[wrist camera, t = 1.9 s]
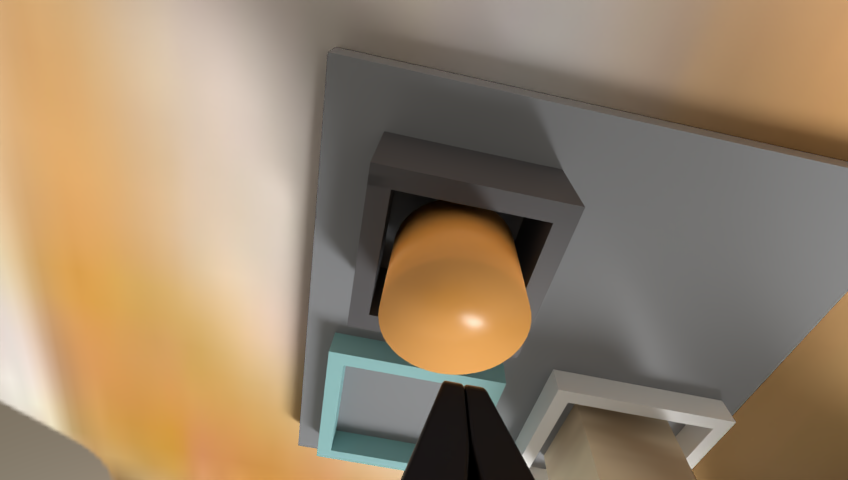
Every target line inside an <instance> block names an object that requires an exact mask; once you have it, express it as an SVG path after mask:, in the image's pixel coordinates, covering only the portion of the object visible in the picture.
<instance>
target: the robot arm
mask: <svg viewBox="0 0 848 480" xmlns="http://www.w3.org/2000/svg"><path fill="white" fill-rule="evenodd" d="M401 480H535V478H534V477H533V475H532V473H531V471H530V469H529V467H528V466H527V464H526V462H525V460H524V458H523V456H522V455H521V453H520V451H519V449H518V447H517V445H516V444H515V442H514V440H513V438H512V436H511V434H510V432H509V431H508V429H507V427H506V425H505V423H504V421H503V420H502V418H501V416H500V414H499V412H498V410H497V409H496V407H495V405H494V403H493V401H492V399H491V398H490V396H489V394H488V392H487V391H486V389H484V388H483V387H478V386H473V385H465V386H463V385H462V384H461V383H456V382H451V381H443V383H442V384H441V387H440V389H439V391H438V394H437V396H436V398H435V401H434V403H433V405H432V408H431V410H430V412H429V415H428V417H427V419H426V422H425V424H424V426H423V429H422V431H421V434H420V436H419V438H418V441H417V443H416V445H415V448H414V450H413V452H412V455H411V457H410V459H409V462H408V464H407V466H406V469H405V471H404V473H403V476H402V478H401Z"/></svg>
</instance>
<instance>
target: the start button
mask: <svg viewBox="0 0 848 480" xmlns="http://www.w3.org/2000/svg"><path fill="white" fill-rule="evenodd" d="M378 318H379V326H380V330H381V332H382V335H383V337H384V339H385V340H386V342H387V344H388V345H389V346H390V347H391V349H392V350H393V351H394V352H395V353H396V354H397V355H398V356H400V357H401V358H403V359H404V360H405V361H407V362H409V363H410V364H412V365H414V366H417V367H419V368H421V369H424V370H427V371H431V372H435V373H440V374H450V375H462V374H471V373H477V372H481V371H484V370H487V369H490V368H493V367H495V366H497V365H499V364H501V363H502V362H504V361H506V360H507V359H509V358H510V357H511V356H512V355H514V354H515V353H516V352H517V351H518V350H519V348H520V347H521V346H522V344H523V343H524V341H525V340H526V338H527V336H528V333H529V330H530V326H531V309H530V304H529V300H528V296H527V292H526V288H525V284H524V279H523V275H522V271H521V267H520V263H519V259H518V255H517V251H516V247H515V243H514V239H513V236H512V233H511V231H510V229H509V227H508V225H507V224H506V222H505V221H504V220H503V219H502V218H501V217H500V216H499V215H498V214H497V213H496V212H495V211H492V210H487V209H482V208H478V207H473V206H468V205H463V204H458V203H453V202H449V201H444V200H437V201H433V202H430V203H427V204H425V205H423V206H421V207H419V208H418V209H416V210H415V211H413V212H412V213H411V214H410V215H409V216H407V218H406V219H405V220H404V221H403V222H402V224H401V225H400V227H399V228H398V231H397V233H396V235H395V239H394V243H393V247H392V252H391V256H390V261H389V265H388V270H387V274H386V279H385V283H384V288H383V292H382V297H381V301H380V306H379V313H378Z"/></svg>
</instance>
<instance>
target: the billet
mask: <svg viewBox="0 0 848 480" xmlns="http://www.w3.org/2000/svg"><path fill="white" fill-rule="evenodd" d="M544 459H545V465H546V470H547V475H548V480H696V478H695V476H694V474H693V472H692V470H691V468H690V466H689V464H688V462H687V460H686V457H685V455H684V453H683V451H682V449H681V447H680V445H679V443H678V441H677V439H676V437H675V435H674V433H673V431H672V429H671V427H670V425H669V423H668V421H667V420H661V419H656V418H650V417H645V416H639V415H634V414H628V413H623V412H617V411H612V410H606V409H601V408H595V407H590V406H584V405H579V404H575V405H574V406H573V408H572V410H571V411H570V413H569V415H568V416H567V418H566V420H565V421H564V423H563V425H562V426H561V428H560V430H559V431H558V433H557V435H556V436H555V438H554V440H553V441H552V443H551V445H550V446H549V448H548V450H547V451H546V453H545V454H544Z"/></svg>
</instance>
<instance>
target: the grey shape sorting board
mask: <svg viewBox="0 0 848 480" xmlns="http://www.w3.org/2000/svg"><path fill="white" fill-rule="evenodd" d="M437 200H444V201H449V202H453V203H458V204H463V205H468V206H473V207H478V208H482V209H487V210H492V211H495V212H496V213H497V214H498V215H499V216H500V217H501V218H502V219H503V220H504V221H505V222H506V224H507V225H508V227H509V229H510V231H511V233H512V236H513V239H514V243H515V247H516V251H517V255H518V259H519V263H520V267H521V271H522V275H523V279H524V284H525V288H526V292H527V296H528V300H529V304H530V309H531V326H530V330H529V333H528V336H527V338H526V340H525V341H524V343H523V344H522V346H521V347H520V348H519V350H518V351H517V352H516V353H515V354H514V355H512V356H511V357H510V358H509V359H507V360H506V361H504V362H502V363H501V364H499V365H497V366H495V367H493V368H490V369H487V370H484V371H481V372H477V373H471V374H462V375H450V374H440V373H435V372H431V371H427V370H424V369H421V368H419V367H417V366H414V365H412V364H410V363H409V362H407V361H405V360H404V359H403V358H401V357H400V356H398V355H397V354H396V353H395V352H394V351H393V350H392V349H391V347H390V346H389V345H388V344H387V342H386V340H385V339H384V337H383V335H382V332H381V330H380V326H379V318H378V313H379V306H380V301H381V297H382V292H383V288H384V283H385V279H386V274H387V270H388V265H389V261H390V256H391V252H392V247H393V243H394V239H395V235H396V233H397V231H398V228H399V227H400V225H401V224H402V222H403V221H404V220H405V219H406V218H407V216H409V215H410V214H411V213H412V212H413V211H415V210H416V209H418V208H419V207H421V206H423V205H425V204H427V203H430V202H433V201H437ZM847 291H848V162H847V161H842V160H838V159H833V158H829V157H825V156H820V155H816V154H811V153H807V152H802V151H798V150H793V149H789V148H784V147H780V146H776V145H771V144H767V143H762V142H758V141H753V140H749V139H744V138H740V137H735V136H731V135H726V134H722V133H718V132H713V131H709V130H704V129H700V128H695V127H691V126H686V125H682V124H677V123H673V122H668V121H664V120H660V119H655V118H651V117H646V116H642V115H637V114H633V113H628V112H624V111H619V110H615V109H611V108H606V107H602V106H597V105H593V104H588V103H584V102H579V101H575V100H570V99H566V98H561V97H557V96H553V95H548V94H544V93H539V92H535V91H530V90H526V89H521V88H517V87H512V86H508V85H503V84H499V83H495V82H490V81H486V80H481V79H477V78H472V77H468V76H463V75H459V74H454V73H450V72H446V71H441V70H437V69H432V68H428V67H423V66H419V65H414V64H410V63H405V62H401V61H396V60H392V59H388V58H383V57H379V56H374V55H370V54H365V53H361V52H356V51H352V50H347V49H343V48H338V47H336V48H334V49H332V50H330V51H328V56H327V70H326V83H325V96H324V110H323V123H322V137H321V150H320V163H319V177H318V190H317V203H316V217H315V230H314V243H313V257H312V270H311V283H310V297H309V310H308V324H307V337H306V350H305V364H304V377H303V390H302V404H301V417H300V430H299V444H298V445H299V446H305V447H311V448H317V456H321V457H327V458H333V459H339V460H344V461H350V462H356V463H362V464H368V465H374V466H380V467H386V468H392V469H398V470H404V471H405V469H406V466H407V464H408V462H409V459H410V457H411V455H412V452H413V450H414V448H415V445H416V443H417V441H418V438H419V436H420V434H421V431H422V429H423V426H424V424H425V422H426V419H427V417H428V415H429V412H430V410H431V408H432V405H433V403H434V401H435V398H436V396H437V394H438V391H439V389H440V387H441V384H442V383H443V381H451V382H456V383H461V384H462V385H463V386H465V385H473V386H478V387H483V388H484V389H486V391H487V392H488V394H489V396H490V398H491V399H492V401H493V403H494V405H495V407H496V409H497V410H498V412H499V414H500V416H501V418H502V420H503V421H504V423H505V425H506V427H507V429H508V431H509V432H510V434H511V436H512V438H513V440H514V442H515V444H516V445H517V447H518V449H519V451H520V453H521V455H522V456H523V458H524V460H525V462H526V464H527V466H528V467H529V469H530V471H531V473H532V475H533V477H534V478H535V480H548V475H547V470H546V465H545V459H544V454H545V453H546V451H547V450H548V448H549V446H550V445H551V443H552V441H553V440H554V438H555V436H556V435H557V433H558V431H559V430H560V428H561V426H562V425H563V423H564V421H565V420H566V418H567V416H568V415H569V413H570V411H571V410H572V408H573V406H574V405H575V404H579V405H584V406H590V407H595V408H601V409H606V410H612V411H617V412H623V413H628V414H634V415H639V416H645V417H650V418H656V419H661V420H667V421H668V423H669V425H670V427H671V429H672V431H673V433H674V435H675V437H676V439H677V441H678V443H679V445H680V447H681V449H682V451H683V453H684V455H685V457H686V460H687V462H688V464H689V466H690V468H691V470H692V468H693V467H694V466H695V465H696V464H697V463H698V462H699V461H700V460H701V459H702V458H703V457H704V456H705V455H706V454H707V453H708V452H709V451H710V449H711V448H712V447H713V446H714V445H715V444H716V443H717V442H718V441H719V440H720V439H721V438H722V437H723V436H724V435H725V434H726V433H727V431H728V430H729V429H730V428H731V427H732V426H733V425H734V424H735V423H736V421H735V420H734V418H733V417H732V416H733V414H734V413H735V412H736V411H737V410H738V409H739V408H740V407H741V406H742V405H743V404H744V403H745V402H746V400H747V399H748V398H749V397H750V396H751V395H752V394H753V393H754V392H755V391H756V390H757V389H758V388H759V386H760V385H761V384H762V383H763V382H764V381H765V380H766V379H767V378H768V377H769V376H770V375H771V373H772V372H773V371H774V370H775V369H776V368H777V367H778V366H779V365H780V364H781V363H782V362H783V361H784V359H785V358H786V357H787V356H788V355H789V354H790V353H791V352H792V351H793V350H794V349H795V348H796V346H797V345H798V344H799V343H800V342H801V341H802V340H803V339H804V338H805V337H806V336H807V335H808V334H809V332H810V331H811V330H812V329H813V328H814V327H815V326H816V325H817V324H818V323H819V322H820V321H821V319H822V318H823V317H824V316H825V315H826V314H827V313H828V312H829V311H830V310H831V309H832V308H833V307H834V305H835V304H836V303H837V302H838V301H839V300H840V299H841V298H842V297H843V296H844V295H845V294H846V292H847Z"/></svg>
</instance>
